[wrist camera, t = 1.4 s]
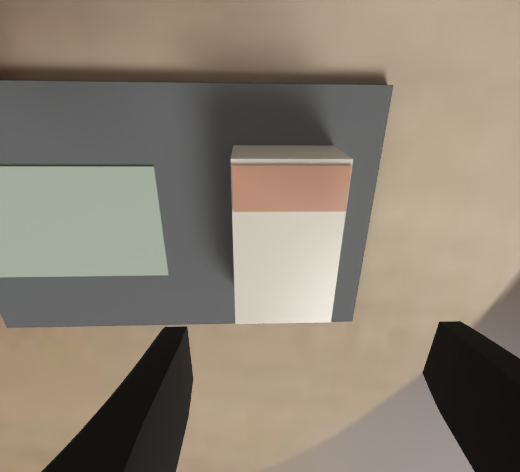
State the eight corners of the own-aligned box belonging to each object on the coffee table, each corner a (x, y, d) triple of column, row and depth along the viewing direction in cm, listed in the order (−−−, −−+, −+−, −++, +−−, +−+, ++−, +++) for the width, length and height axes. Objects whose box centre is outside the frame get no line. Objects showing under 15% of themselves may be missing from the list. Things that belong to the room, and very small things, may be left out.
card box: (318, 287, 19) (331, 323, 16) (236, 288, 19) (235, 325, 16) (333, 145, 16) (354, 159, 13) (233, 145, 16) (230, 159, 13)
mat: (13, 321, 20) (5, 328, 20) (-88, 79, 14) (-103, 79, 14) (349, 315, 21) (352, 322, 21) (388, 85, 15) (394, 85, 15)
